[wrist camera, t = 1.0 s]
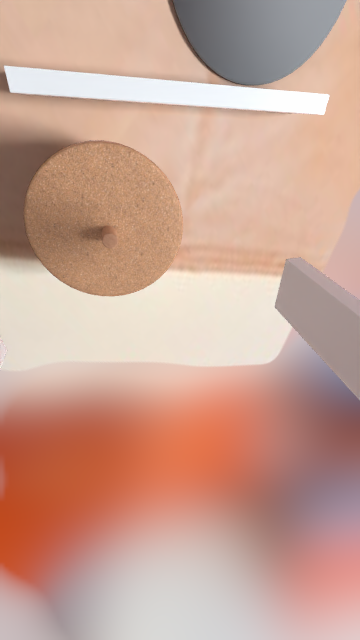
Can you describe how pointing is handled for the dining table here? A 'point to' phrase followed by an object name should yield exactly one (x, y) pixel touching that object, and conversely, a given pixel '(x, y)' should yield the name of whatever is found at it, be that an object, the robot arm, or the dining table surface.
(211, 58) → the gray round disc
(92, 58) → the dining table surface
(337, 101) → the dining table surface
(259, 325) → the dining table surface
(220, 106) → the low wall
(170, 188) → the lidded jar
